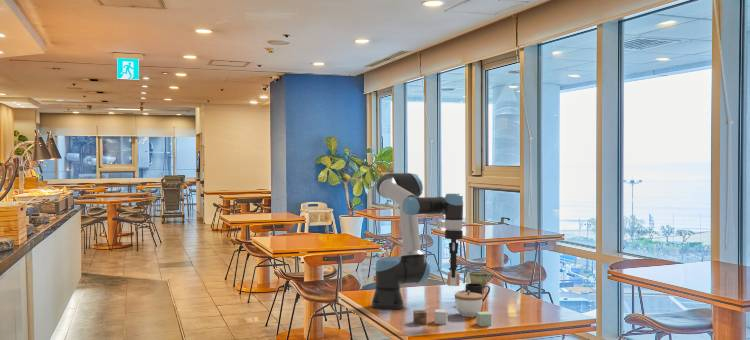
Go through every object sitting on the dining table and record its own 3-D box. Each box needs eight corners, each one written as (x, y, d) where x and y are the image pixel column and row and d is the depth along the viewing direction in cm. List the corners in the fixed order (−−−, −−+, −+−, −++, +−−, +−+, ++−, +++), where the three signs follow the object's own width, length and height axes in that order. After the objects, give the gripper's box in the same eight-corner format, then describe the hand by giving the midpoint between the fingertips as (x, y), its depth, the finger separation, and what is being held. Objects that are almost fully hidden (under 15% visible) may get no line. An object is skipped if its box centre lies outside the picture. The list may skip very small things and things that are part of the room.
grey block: (434, 323, 272) (434, 311, 272) (436, 320, 277) (436, 309, 277) (446, 324, 271) (446, 312, 271) (447, 321, 276) (447, 309, 276)
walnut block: (414, 324, 269) (414, 312, 269) (413, 321, 274) (413, 310, 274) (426, 324, 270) (426, 312, 270) (424, 321, 275) (425, 310, 275)
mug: (491, 306, 308) (492, 286, 308) (467, 306, 307) (467, 286, 307) (487, 302, 316) (487, 283, 316) (463, 302, 315) (464, 283, 315)
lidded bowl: (460, 310, 297) (461, 287, 297) (486, 314, 291) (486, 289, 291) (450, 315, 286) (450, 291, 286) (476, 319, 280) (476, 294, 280)
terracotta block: (447, 285, 271) (447, 273, 271) (447, 283, 276) (447, 272, 276) (459, 285, 271) (459, 274, 271) (459, 283, 276) (459, 272, 276)
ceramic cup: (468, 291, 343) (468, 273, 343) (469, 288, 353) (469, 270, 353) (492, 293, 341) (492, 274, 341) (493, 289, 350) (493, 271, 350)
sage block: (479, 326, 268) (479, 314, 268) (476, 323, 273) (476, 311, 273) (491, 326, 269) (491, 314, 269) (487, 323, 274) (487, 311, 274)
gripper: (462, 231, 264) (462, 287, 264) (462, 227, 282) (461, 280, 282) (444, 231, 265) (444, 287, 265) (445, 227, 283) (444, 279, 283)
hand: (453, 283), depth 273 cm, fingers closed on terracotta block, 5 cm apart
